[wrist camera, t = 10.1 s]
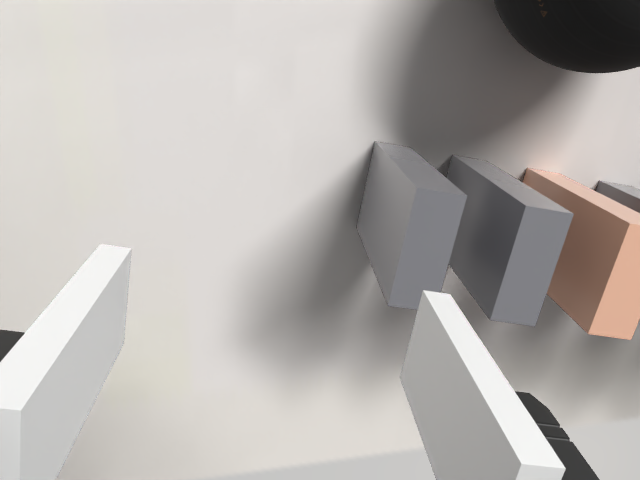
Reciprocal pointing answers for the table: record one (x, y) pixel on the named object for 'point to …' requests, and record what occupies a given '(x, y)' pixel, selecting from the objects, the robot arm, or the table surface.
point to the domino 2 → (505, 241)
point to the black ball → (577, 32)
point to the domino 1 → (408, 223)
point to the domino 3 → (594, 257)
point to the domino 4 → (621, 194)
